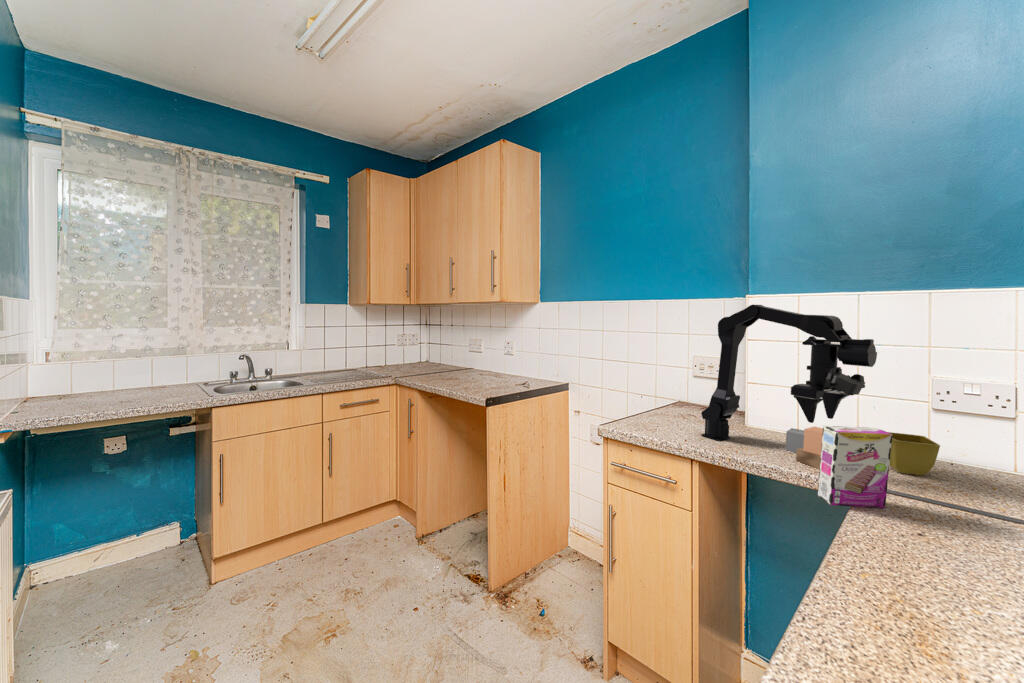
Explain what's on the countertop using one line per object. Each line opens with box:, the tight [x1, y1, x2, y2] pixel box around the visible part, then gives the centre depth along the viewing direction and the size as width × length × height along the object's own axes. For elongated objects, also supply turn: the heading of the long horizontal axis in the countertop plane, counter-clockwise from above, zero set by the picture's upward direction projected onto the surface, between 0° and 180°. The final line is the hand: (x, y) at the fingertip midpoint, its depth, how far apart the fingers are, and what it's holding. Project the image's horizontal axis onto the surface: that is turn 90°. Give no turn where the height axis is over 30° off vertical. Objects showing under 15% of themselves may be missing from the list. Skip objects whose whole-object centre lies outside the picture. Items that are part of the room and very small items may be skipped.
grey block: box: [785, 428, 804, 454], centre depth 124 cm, size 5×5×6 cm
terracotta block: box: [803, 426, 823, 455], centre depth 113 cm, size 5×5×6 cm
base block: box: [795, 448, 821, 471], centre depth 113 cm, size 7×7×4 cm
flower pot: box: [887, 431, 941, 477], centre depth 109 cm, size 9×9×9 cm
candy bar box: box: [817, 425, 892, 509], centre depth 91 cm, size 11×5×16 cm, turn 84°
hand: (820, 420), depth 113 cm, fingers open, 9 cm apart
